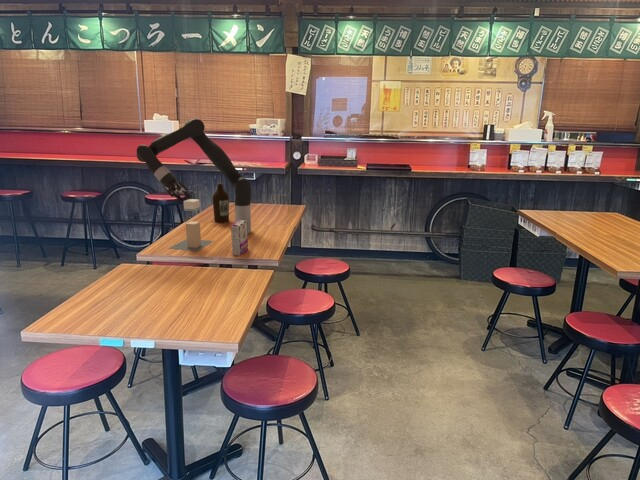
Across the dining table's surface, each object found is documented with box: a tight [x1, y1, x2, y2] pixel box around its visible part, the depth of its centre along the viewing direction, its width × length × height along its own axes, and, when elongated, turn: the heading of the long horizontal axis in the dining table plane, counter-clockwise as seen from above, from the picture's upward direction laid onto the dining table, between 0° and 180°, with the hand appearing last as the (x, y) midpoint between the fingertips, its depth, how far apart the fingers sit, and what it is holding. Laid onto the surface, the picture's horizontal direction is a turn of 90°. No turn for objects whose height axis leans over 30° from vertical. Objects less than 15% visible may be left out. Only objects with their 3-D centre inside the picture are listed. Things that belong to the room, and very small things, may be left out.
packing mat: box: [167, 238, 215, 252], centre depth 266 cm, size 20×17×1 cm
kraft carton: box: [185, 220, 202, 248], centre depth 262 cm, size 5×5×13 cm
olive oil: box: [211, 182, 230, 223], centre depth 319 cm, size 11×11×25 cm
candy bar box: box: [230, 220, 249, 256], centre depth 254 cm, size 11×5×16 cm, turn 168°
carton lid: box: [183, 198, 201, 212], centre depth 257 cm, size 6×6×5 cm
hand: (186, 199), depth 257 cm, fingers open, 8 cm apart
